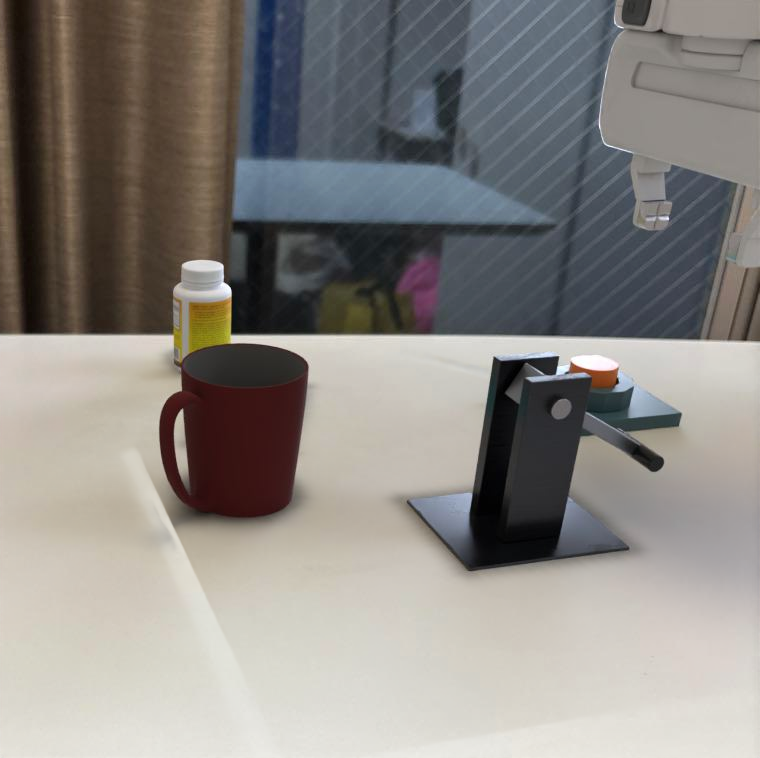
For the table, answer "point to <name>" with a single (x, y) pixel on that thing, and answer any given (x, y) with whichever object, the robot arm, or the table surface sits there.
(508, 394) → the switch lever
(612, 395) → the button housing
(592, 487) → the table surface
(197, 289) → the supplement bottle
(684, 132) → the robot arm
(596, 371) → the button
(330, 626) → the table surface
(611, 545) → the switch bracket
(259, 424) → the mug
